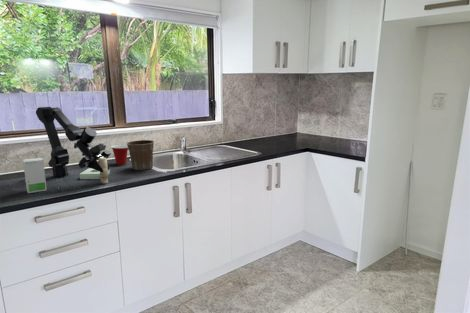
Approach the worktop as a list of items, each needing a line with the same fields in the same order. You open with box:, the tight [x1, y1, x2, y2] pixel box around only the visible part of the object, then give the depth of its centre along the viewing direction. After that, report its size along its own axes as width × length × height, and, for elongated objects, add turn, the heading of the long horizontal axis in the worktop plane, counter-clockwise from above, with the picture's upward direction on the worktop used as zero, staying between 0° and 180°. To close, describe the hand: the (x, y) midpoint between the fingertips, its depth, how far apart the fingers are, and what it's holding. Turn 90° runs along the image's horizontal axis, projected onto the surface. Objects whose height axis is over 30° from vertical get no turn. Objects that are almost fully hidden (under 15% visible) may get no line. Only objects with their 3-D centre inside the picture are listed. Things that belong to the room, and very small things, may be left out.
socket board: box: [79, 167, 111, 180], centre depth 184 cm, size 12×12×3 cm
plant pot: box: [126, 139, 155, 171], centre depth 200 cm, size 16×16×16 cm
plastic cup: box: [111, 144, 129, 166], centre depth 210 cm, size 11×11×12 cm
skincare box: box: [22, 157, 48, 194], centre depth 159 cm, size 8×7×16 cm
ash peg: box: [97, 158, 109, 185], centre depth 170 cm, size 4×4×13 cm
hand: (105, 170), depth 170 cm, fingers closed on ash peg, 4 cm apart
